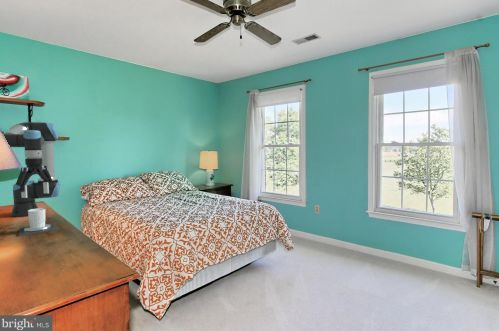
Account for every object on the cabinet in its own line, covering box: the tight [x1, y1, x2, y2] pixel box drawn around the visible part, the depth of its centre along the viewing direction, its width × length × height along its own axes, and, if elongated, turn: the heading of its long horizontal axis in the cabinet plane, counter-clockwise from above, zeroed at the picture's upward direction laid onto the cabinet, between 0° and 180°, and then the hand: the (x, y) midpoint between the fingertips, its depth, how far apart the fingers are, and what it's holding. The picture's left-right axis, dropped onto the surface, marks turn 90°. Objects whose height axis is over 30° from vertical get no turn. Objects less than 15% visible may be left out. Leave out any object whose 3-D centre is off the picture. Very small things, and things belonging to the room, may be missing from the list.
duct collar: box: [18, 222, 56, 237], centre depth 154 cm, size 14×16×2 cm
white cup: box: [27, 207, 46, 229], centre depth 154 cm, size 8×8×10 cm
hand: (35, 195), depth 153 cm, fingers open, 13 cm apart
